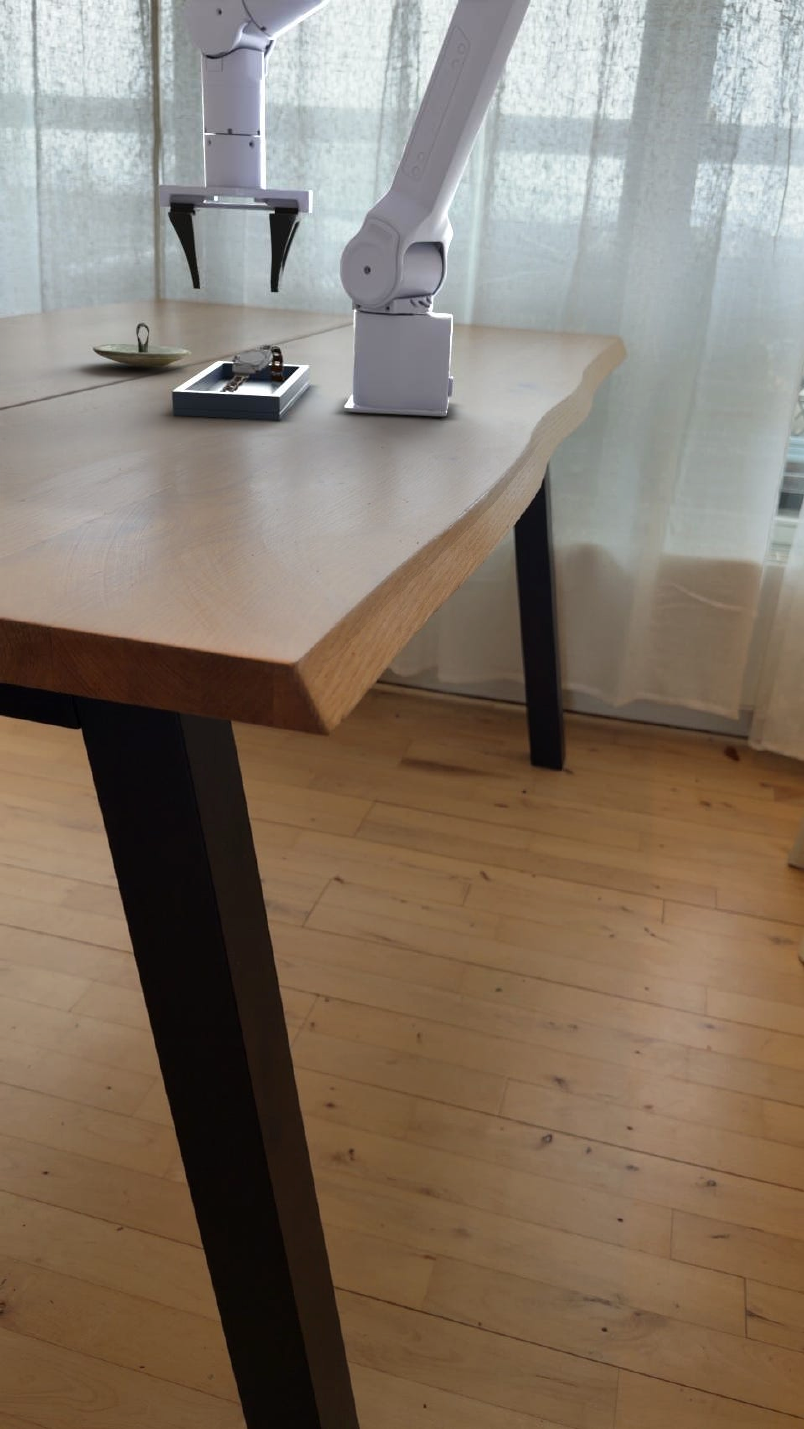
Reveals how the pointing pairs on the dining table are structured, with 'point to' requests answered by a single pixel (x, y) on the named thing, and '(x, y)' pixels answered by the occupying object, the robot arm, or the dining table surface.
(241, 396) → the holder
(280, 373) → the wristwatch
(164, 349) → the lid
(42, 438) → the dining table surface
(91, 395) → the dining table surface
